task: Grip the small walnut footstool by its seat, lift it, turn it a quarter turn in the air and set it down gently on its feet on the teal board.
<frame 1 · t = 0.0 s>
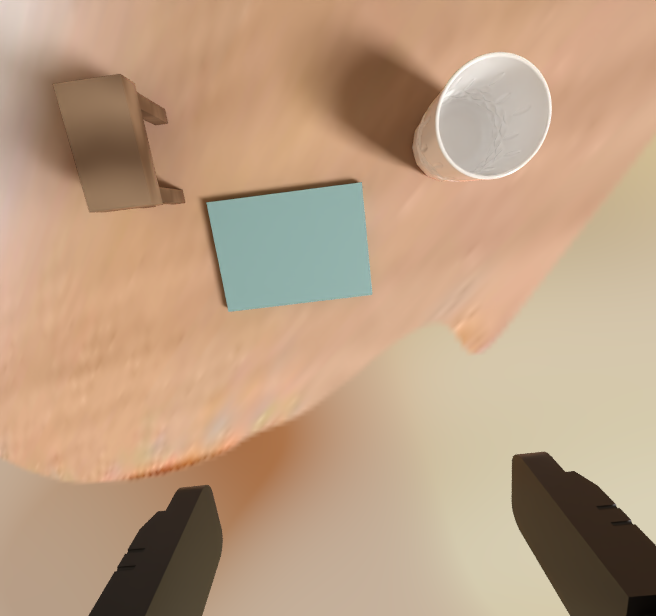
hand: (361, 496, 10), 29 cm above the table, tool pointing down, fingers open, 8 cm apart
board: (292, 249, 37), on the table
white cup: (446, 144, 35), on the table
stool: (154, 160, 35), on the table
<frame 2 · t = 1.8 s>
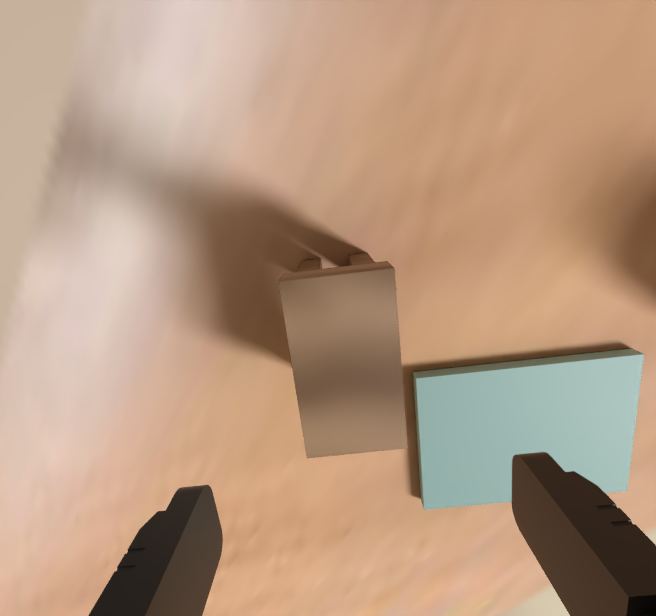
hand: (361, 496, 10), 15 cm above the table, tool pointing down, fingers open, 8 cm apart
board: (519, 428, 27), on the table
stool: (341, 318, 24), on the table
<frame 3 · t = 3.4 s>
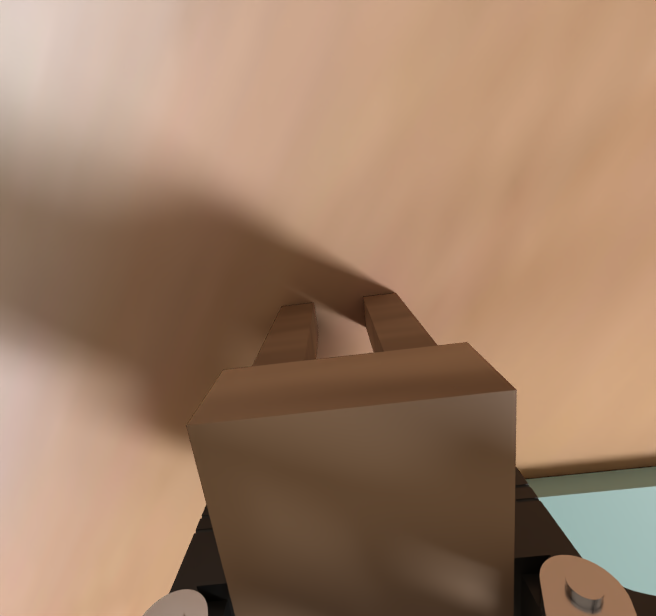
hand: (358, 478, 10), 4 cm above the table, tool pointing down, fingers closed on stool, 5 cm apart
board: (636, 569, 17), on the table
stool: (350, 401, 14), on the table, touching gripper
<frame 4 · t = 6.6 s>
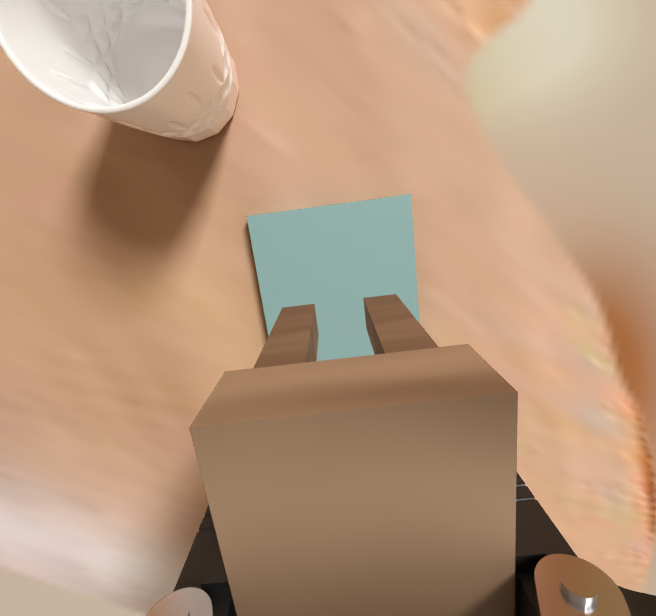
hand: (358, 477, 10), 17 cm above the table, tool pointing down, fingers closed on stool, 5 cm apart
board: (340, 309, 27), on the table
white cup: (188, 86, 23), on the table
stool: (351, 402, 14), point 13 cm above the table, touching gripper
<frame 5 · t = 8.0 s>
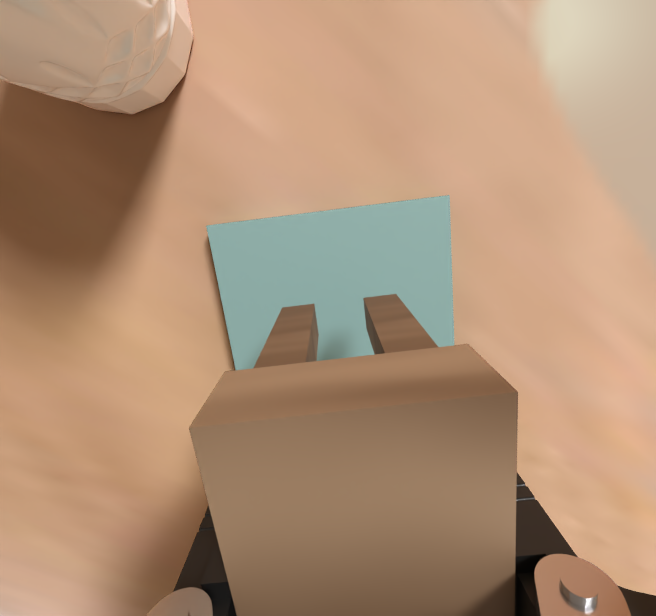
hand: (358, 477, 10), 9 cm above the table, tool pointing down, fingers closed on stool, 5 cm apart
board: (343, 356, 19), on the table
white cup: (117, 29, 16), on the table
stool: (351, 402, 14), point 5 cm above the table, touching gripper
when the fingers open (7 cm above the table, at t = 9.4 s): stool drops 1 cm, resting on board.
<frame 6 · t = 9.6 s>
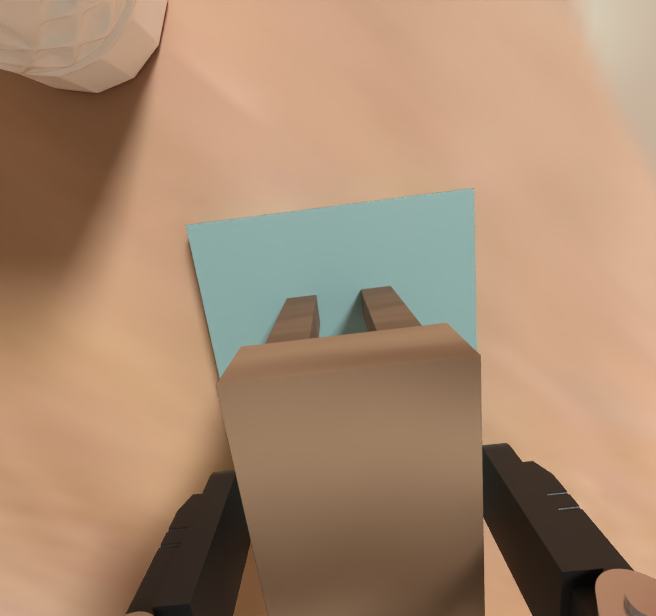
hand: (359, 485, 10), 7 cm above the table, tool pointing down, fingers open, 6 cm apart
board: (347, 375, 17), on the table
stool: (349, 386, 16), point 1 cm above the table, touching board
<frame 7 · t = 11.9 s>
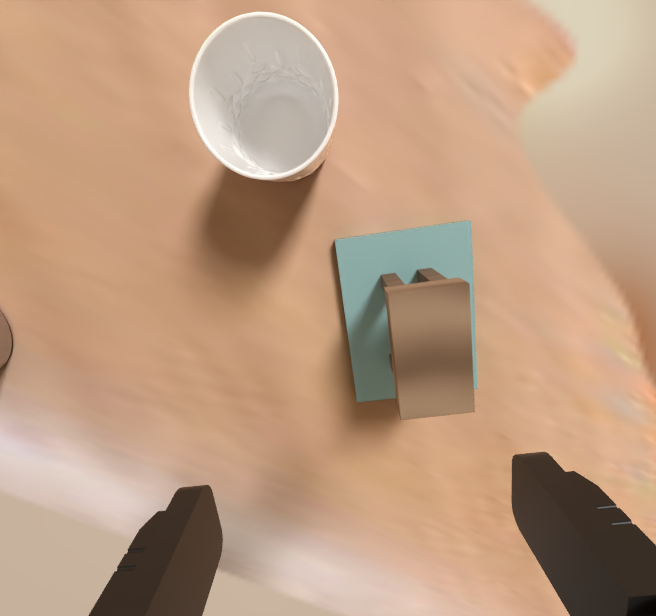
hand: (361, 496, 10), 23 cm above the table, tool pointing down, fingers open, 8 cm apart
board: (407, 315, 32), on the table
white cup: (289, 136, 29), on the table
stool: (410, 318, 31), point 1 cm above the table, touching board
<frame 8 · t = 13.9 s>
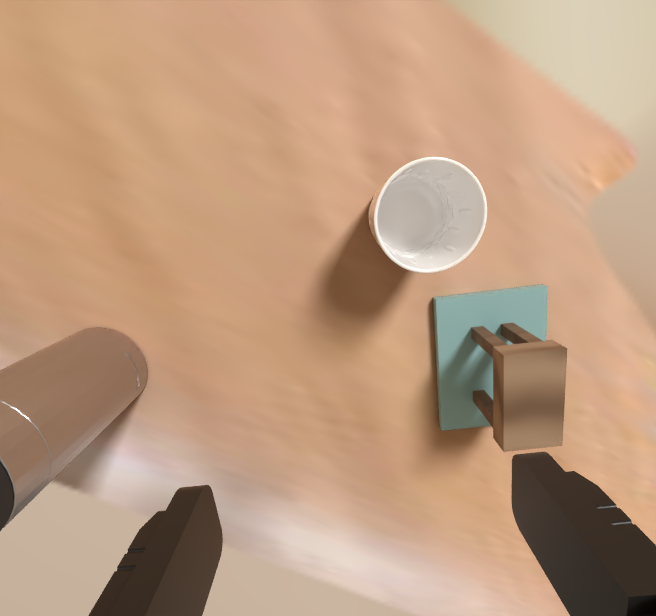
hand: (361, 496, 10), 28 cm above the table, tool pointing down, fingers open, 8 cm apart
board: (487, 358, 39), on the table
white cup: (402, 215, 35), on the table
stool: (492, 362, 38), point 1 cm above the table, touching board
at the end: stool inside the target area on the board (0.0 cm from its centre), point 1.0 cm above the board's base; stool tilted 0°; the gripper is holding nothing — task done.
